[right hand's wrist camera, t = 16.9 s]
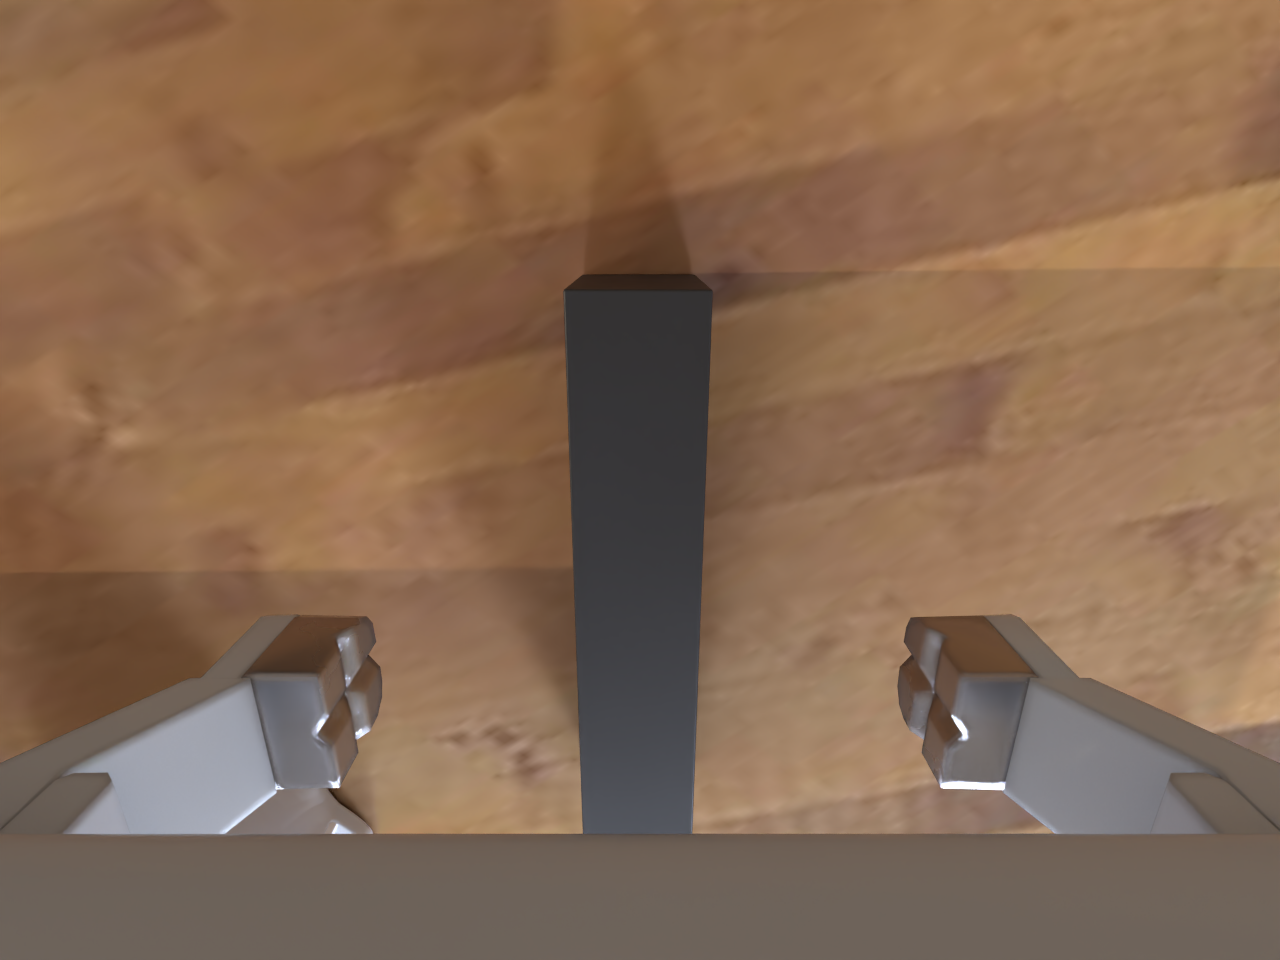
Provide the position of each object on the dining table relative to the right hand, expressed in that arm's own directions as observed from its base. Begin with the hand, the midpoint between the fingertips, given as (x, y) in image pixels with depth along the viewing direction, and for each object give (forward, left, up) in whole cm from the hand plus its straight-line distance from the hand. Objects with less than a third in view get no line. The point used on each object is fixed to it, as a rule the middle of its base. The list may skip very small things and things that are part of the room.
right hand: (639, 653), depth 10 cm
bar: (-9, -2, -23) cm, 25 cm away
